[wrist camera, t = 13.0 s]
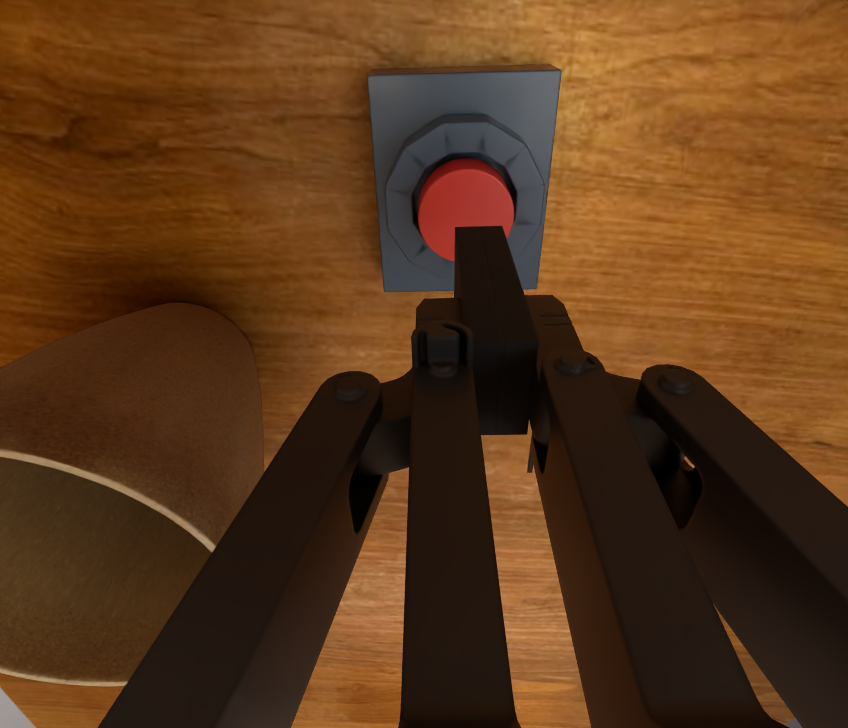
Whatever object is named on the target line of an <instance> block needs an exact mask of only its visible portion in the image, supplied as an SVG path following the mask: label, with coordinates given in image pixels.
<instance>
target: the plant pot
mask: <svg viewBox="0 0 848 728" xmlns="http://www.w3.org/2000/svg"><path fill="white" fill-rule="evenodd" d="M263 474H264V435H263V416H262V403H261V394H260V386H259V380H258V373H257V368H256V363H255V358H254V354H253V351H252V348H251V346H250V344H249V342H248V340H247V338H246V337H245V336H244V334H243V333H242V332H241V331H240V330H239V328H237V327H236V326H235V325H234V324H233V323H232V322H231V321H230V320H228V319H227V318H225V317H224V316H222V315H221V314H219V313H217V312H215V311H213V310H211V309H208V308H205V307H202V306H199V305H195V304H189V303H166V304H162V305H158V306H154V307H150V308H146V309H143V310H139V311H136V312H132V313H129V314H126V315H123V316H120V317H117V318H114V319H111V320H108V321H105V322H102V323H100V324H97V325H94V326H91V327H89V328H86V329H84V330H81V331H79V332H76V333H74V334H71V335H69V336H67V337H64V338H62V339H60V340H57V341H55V342H53V343H50V344H48V345H46V346H44V347H42V348H40V349H38V350H36V351H34V352H31V353H29V354H27V355H25V356H23V357H21V358H19V359H17V360H15V361H13V362H11V363H9V364H7V365H5V366H3V367H1V368H0V673H3V674H8V675H12V676H17V677H22V678H27V679H33V680H39V681H45V682H51V683H62V684H72V685H86V686H125V685H126V684H127V682H128V681H129V679H130V678H131V676H132V675H133V673H134V671H135V670H136V668H137V667H138V665H139V664H140V662H141V661H142V659H143V658H144V656H145V655H146V653H147V652H148V650H149V648H150V647H151V645H152V644H153V642H154V641H155V639H156V638H157V636H158V635H159V633H160V632H161V630H162V629H163V627H164V625H165V624H166V622H167V621H168V619H169V618H170V616H171V615H172V613H173V612H174V610H175V609H176V607H177V606H178V604H179V602H180V601H181V599H182V598H183V596H184V595H185V593H186V592H187V590H188V589H189V587H190V586H191V584H192V583H193V581H194V579H195V578H196V576H197V575H198V573H199V572H200V570H201V569H202V567H203V566H204V564H205V563H206V561H207V560H208V558H209V556H210V555H211V553H212V552H213V550H214V549H215V547H216V546H217V544H218V543H219V541H220V540H221V538H222V537H223V535H224V533H225V532H226V530H227V529H228V527H229V526H230V524H231V523H232V521H233V520H234V518H235V517H236V515H237V514H238V512H239V511H240V509H241V507H242V506H243V504H244V503H245V501H246V500H247V498H248V497H249V495H250V494H251V492H252V491H253V489H254V488H255V486H256V484H257V483H258V481H259V480H260V478H261V477H262V475H263Z"/></svg>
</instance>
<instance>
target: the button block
mask: <svg viewBox="0 0 848 728" xmlns="http://www.w3.org/2000/svg"><path fill="white" fill-rule="evenodd" d="M560 80H561V70H560V69H558V68H556V67H555V66H553V65H551V64H542V65H506V66H471V67H435V68H400V69H373V70H371V72H370V73H369V74H368V75H367V82H368V95H369V108H370V121H371V133H372V146H373V159H374V172H375V185H376V197H377V210H378V223H379V236H380V248H381V261H382V274H383V287H384V292H417V291H454V261H451V260H447V259H445V258H443V257H441V256H439V255H438V254H436V253H435V252H434V251H433V250H432V249H431V248H430V247H429V246H428V245H427V244H426V242H425V241H424V239H423V237H422V235H421V232H420V228H419V223H418V208H419V196H420V192H421V189H422V187H423V185H424V183H425V181H426V179H427V178H428V177H429V175H430V174H431V173H432V172H433V171H434V170H435V169H436V168H438V167H439V166H441V165H442V164H444V163H446V162H449V161H451V160H455V159H460V158H472V159H477V160H480V161H483V162H485V163H487V164H489V165H490V166H492V167H493V168H494V169H495V170H496V171H498V173H499V174H500V175H501V176H502V178H503V180H504V181H505V184H506V186H507V188H508V191H509V193H510V195H511V198H512V201H513V206H514V221H513V225H512V229H511V231H510V233H509V235H508V237H507V242H508V245H509V248H510V251H511V254H512V257H513V261H514V264H515V267H516V270H517V273H518V276H519V279H520V282H521V286H522V289H537V282H538V274H539V265H540V256H541V247H542V238H543V230H544V221H545V212H546V203H547V194H548V186H549V177H550V168H551V159H552V151H553V142H554V133H555V124H556V115H557V107H558V98H559V89H560Z"/></svg>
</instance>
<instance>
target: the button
mask: <svg viewBox="0 0 848 728" xmlns="http://www.w3.org/2000/svg"><path fill="white" fill-rule="evenodd" d="M513 221H514V206H513V201H512V198H511V195H510V193H509V191H508V188H507V186H506V184H505V181H504V180H503V178H502V176H501V175H500V174H499V173H498V171H496V170H495V169H494V168H493V167H492V166H490V165H489V164H487V163H485V162H483V161H480V160H477V159H472V158H460V159H455V160H451V161H449V162H446V163H444V164H442V165H441V166H439V167H438V168H436V169H435V170H434V171H433V172H432V173H431V174H430V175H429V177H428V178H427V179H426V181H425V183H424V185H423V187H422V189H421V192H420V196H419V208H418V223H419V228H420V232H421V235H422V237H423V239H424V241H425V242H426V244H427V245H428V246H429V247H430V248H431V249H432V250H433V251H434V252H435V253H436V254H438V255H439V256H441V257H443V258H445V259H447V260H451V261H455V227H468V226H503V229H504V232H505V235H506V239H507V237H508V235H509V233H510V231H511V229H512V225H513Z"/></svg>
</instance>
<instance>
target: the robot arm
mask: <svg viewBox="0 0 848 728" xmlns="http://www.w3.org/2000/svg"><path fill="white" fill-rule="evenodd" d="M411 343H412V364H413V367H412V368H411V370H410V371H409V372H407V373H406V374H405V375H404V376H402V377H400V378H398V379H395V380H392V381H389V382H385V383H379V381H378V379H377V378H375V377H374V376H373V375H371V374H368V373H365V372H361V371H348V372H344V373H339V374H336V375H334V376H332V377H330V378H328V379H327V380H326V381H325V382H324V383H323V384H322V385H321V386H320V388H319V389H318V391H317V392H316V394H315V396H314V397H313V399H312V400H311V402H310V403H309V405H308V406H307V408H306V409H305V411H304V412H303V414H302V415H301V417H300V419H299V420H298V422H297V423H296V425H295V426H294V428H293V429H292V431H291V432H290V434H289V435H288V437H287V438H286V440H285V442H284V443H283V445H282V446H281V448H280V449H279V451H278V452H277V454H276V455H275V457H274V458H273V460H272V461H271V463H270V465H269V466H268V468H267V469H266V471H265V472H264V474H263V475H262V477H261V478H260V480H259V481H258V483H257V484H256V486H255V488H254V489H253V491H252V492H251V494H250V495H249V497H248V498H247V500H246V501H245V503H244V504H243V506H242V507H241V509H240V511H239V512H238V514H237V515H236V517H235V518H234V520H233V521H232V523H231V524H230V526H229V527H228V529H227V530H226V532H225V533H224V535H223V537H222V538H221V540H220V541H219V543H218V544H217V546H216V547H215V549H214V550H213V552H212V553H211V555H210V556H209V558H208V560H207V561H206V563H205V564H204V566H203V567H202V569H201V570H200V572H199V573H198V575H197V576H196V578H195V579H194V581H193V583H192V584H191V586H190V587H189V589H188V590H187V592H186V593H185V595H184V596H183V598H182V599H181V601H180V602H179V604H178V606H177V607H176V609H175V610H174V612H173V613H172V615H171V616H170V618H169V619H168V621H167V622H166V624H165V625H164V627H163V629H162V630H161V632H160V633H159V635H158V636H157V638H156V639H155V641H154V642H153V644H152V645H151V647H150V648H149V650H148V652H147V653H146V655H145V656H144V658H143V659H142V661H141V662H140V664H139V665H138V667H137V668H136V670H135V671H134V673H133V675H132V676H131V678H130V679H129V681H128V682H127V684H126V685H125V687H124V688H123V690H122V691H121V693H120V694H119V696H118V697H117V699H116V701H115V702H114V704H113V705H112V707H111V708H110V710H109V711H108V713H107V714H106V716H105V717H104V719H103V720H102V722H101V724H100V725H99V727H98V728H291V726H292V723H293V721H294V718H295V716H296V713H297V711H298V708H299V705H300V703H301V700H302V698H303V695H304V693H305V690H306V688H307V685H308V682H309V680H310V677H311V675H312V672H313V670H314V667H315V665H316V662H317V660H318V657H319V654H320V652H321V649H322V647H323V644H324V642H325V639H326V637H327V634H328V631H329V629H330V626H331V624H332V621H333V619H334V616H335V614H336V611H337V609H338V606H339V603H340V601H341V598H342V596H343V593H344V591H345V588H346V586H347V583H348V581H349V578H350V575H351V573H352V570H353V568H354V565H355V563H356V560H357V558H358V555H359V552H360V550H361V547H362V545H363V542H364V540H365V537H366V535H367V532H368V530H369V527H370V524H371V522H372V519H373V517H374V514H375V512H376V509H377V507H378V504H379V501H380V499H381V496H382V494H383V491H384V489H385V486H386V484H387V481H388V477H389V473H390V472H394V471H397V470H401V469H404V468H408V467H409V489H408V517H407V546H406V575H405V604H404V633H403V661H402V690H401V713H400V722H399V727H398V728H521V727H520V725H519V722H518V720H517V717H516V712H515V706H514V700H513V692H512V684H511V676H510V668H509V659H508V651H507V643H506V635H505V627H504V619H503V611H502V603H501V595H500V587H499V579H498V571H497V562H496V554H495V546H494V538H493V530H492V522H491V514H490V506H489V498H488V490H487V482H486V474H485V466H484V457H483V449H482V441H481V435H522V434H527V431H528V423H529V420H530V425H531V429H532V438H531V445H530V452H529V460H528V469H527V473H532V469H533V465H534V469H535V473H536V478H537V482H538V487H539V492H540V496H541V501H542V505H543V510H544V514H545V519H546V523H547V528H548V532H549V537H550V542H551V546H552V551H553V555H554V560H555V564H556V569H557V573H558V578H559V582H560V587H561V592H562V596H563V601H564V605H565V610H566V614H567V619H568V623H569V628H570V632H571V637H572V642H573V646H574V651H575V655H576V660H577V664H578V669H579V673H580V678H581V682H582V687H583V692H584V696H585V701H586V705H587V710H588V714H589V719H590V723H591V728H789V727H787V726H785V725H783V724H781V723H779V722H777V721H775V720H773V719H771V718H770V717H769V715H768V714H767V713H766V712H765V711H764V710H763V708H762V706H761V705H760V703H759V701H758V699H757V697H756V695H755V693H754V691H753V689H752V687H751V684H750V682H749V680H748V678H747V676H746V674H745V672H744V669H743V667H742V665H741V663H740V661H739V659H738V656H737V654H736V652H735V650H734V648H733V646H732V643H731V641H730V639H729V637H728V635H727V633H726V630H725V628H724V626H723V624H722V622H721V620H720V618H719V615H718V613H717V611H716V609H715V607H716V608H717V609H718V611H719V612H720V614H721V615H722V616H723V618H724V619H725V620H726V622H727V623H728V625H729V626H730V627H731V629H732V630H733V632H734V633H735V634H736V636H737V637H738V638H739V640H740V641H741V643H742V644H743V645H744V647H745V648H746V650H747V651H748V652H749V654H750V655H751V657H752V658H753V659H754V661H755V662H756V663H757V665H758V666H759V668H760V669H761V670H762V672H763V673H764V675H765V676H766V677H767V679H768V680H769V682H770V683H771V684H772V686H773V687H774V688H775V690H776V691H777V693H778V694H779V695H780V697H781V698H782V700H783V701H784V702H785V704H786V705H787V707H788V708H789V709H790V711H791V712H792V713H793V715H794V716H795V718H796V719H797V720H798V722H799V723H800V724H801V726H802V727H803V728H848V507H847V506H846V505H845V504H844V503H843V502H842V501H840V500H839V499H838V498H837V497H836V496H835V495H834V494H833V493H831V492H830V491H829V490H828V489H827V488H826V487H825V486H824V485H822V484H821V483H820V482H819V481H818V480H817V479H816V478H815V477H814V476H812V475H811V474H810V473H809V472H808V471H807V470H806V469H805V468H803V467H802V466H801V465H800V464H799V463H798V462H797V461H796V460H794V459H793V458H792V457H791V456H790V455H789V454H788V453H787V452H786V451H784V450H783V449H782V448H781V447H780V446H779V445H778V444H777V443H775V442H774V441H773V440H772V439H771V438H770V437H769V436H768V435H767V434H765V433H764V432H763V431H762V430H761V429H760V428H759V427H758V426H756V425H755V424H754V423H753V422H752V421H751V420H750V419H749V418H747V417H746V416H745V415H744V414H743V413H742V412H741V411H740V410H739V409H737V408H736V407H735V406H734V405H733V404H732V403H731V402H730V401H728V400H727V399H726V398H725V397H724V396H723V395H722V394H721V393H720V392H718V391H717V390H716V389H715V388H714V387H713V386H712V385H711V384H709V383H708V382H707V381H706V380H705V379H704V378H703V377H701V376H700V375H698V374H697V373H695V372H694V371H691V370H689V369H686V368H683V367H681V366H675V365H669V364H665V365H655V366H652V367H649V368H647V369H646V370H645V371H644V372H643V373H642V376H641V380H639V379H633V378H628V377H622V376H618V375H614V374H610V373H608V372H606V371H605V369H604V367H603V365H602V363H601V362H600V361H599V360H598V358H597V357H595V356H593V355H592V354H590V353H588V352H585V351H584V350H583V348H582V345H581V343H580V341H579V338H578V336H577V334H576V332H575V329H574V327H573V325H572V322H571V320H570V318H569V317H568V313H567V311H566V308H565V306H564V304H563V303H562V302H560V301H559V300H558V299H557V298H555V297H554V296H553V295H524V292H523V289H522V286H521V282H520V279H519V276H518V273H517V270H516V267H515V264H514V261H513V257H512V254H511V251H510V248H509V245H508V242H507V239H506V235H505V232H504V229H503V226H468V227H455V261H454V298H435V299H424V300H423V301H422V302H421V303H420V304H419V306H418V307H417V308H416V329H415V330H414V331H413V334H412V336H411ZM685 456H686V457H687V458H688V459H689V460H690V462H691V463H692V464H693V465H694V466H695V468H692V467H691V466H690V465H689V464H688V463H687V462H686V461H685V460H684V457H685ZM713 604H714V605H715V607H714V605H713Z"/></svg>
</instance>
